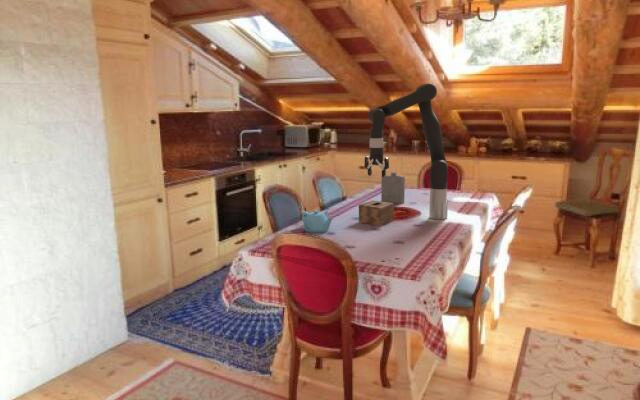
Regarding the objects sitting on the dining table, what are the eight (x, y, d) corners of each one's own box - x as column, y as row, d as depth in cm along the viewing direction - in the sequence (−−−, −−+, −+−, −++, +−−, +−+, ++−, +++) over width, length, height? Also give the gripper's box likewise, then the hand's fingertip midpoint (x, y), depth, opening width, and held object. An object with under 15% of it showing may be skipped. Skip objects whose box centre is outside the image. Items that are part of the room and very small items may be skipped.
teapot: (329, 225, 261) (329, 206, 259) (333, 233, 246) (332, 212, 244) (301, 227, 259) (300, 207, 257) (303, 234, 245) (302, 214, 242)
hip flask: (380, 201, 318) (380, 171, 314) (382, 200, 322) (383, 170, 317) (403, 203, 310) (403, 173, 306) (405, 202, 314) (406, 172, 310)
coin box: (393, 220, 269) (393, 203, 266) (380, 226, 258) (380, 208, 256) (372, 217, 277) (372, 200, 275) (358, 222, 267) (358, 204, 264)
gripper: (391, 146, 257) (391, 176, 261) (369, 145, 266) (369, 174, 269) (384, 147, 251) (384, 178, 255) (361, 146, 260) (361, 176, 264)
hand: (376, 176), depth 262 cm, fingers open, 8 cm apart
